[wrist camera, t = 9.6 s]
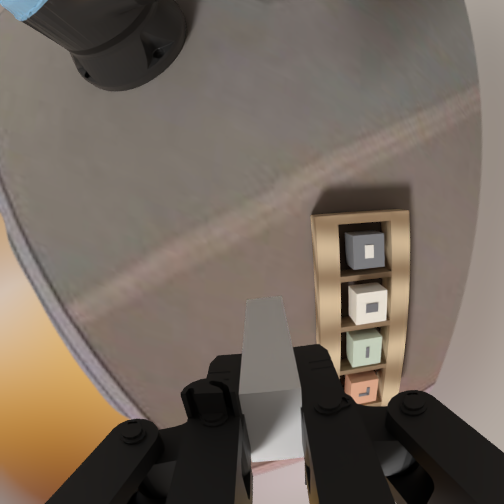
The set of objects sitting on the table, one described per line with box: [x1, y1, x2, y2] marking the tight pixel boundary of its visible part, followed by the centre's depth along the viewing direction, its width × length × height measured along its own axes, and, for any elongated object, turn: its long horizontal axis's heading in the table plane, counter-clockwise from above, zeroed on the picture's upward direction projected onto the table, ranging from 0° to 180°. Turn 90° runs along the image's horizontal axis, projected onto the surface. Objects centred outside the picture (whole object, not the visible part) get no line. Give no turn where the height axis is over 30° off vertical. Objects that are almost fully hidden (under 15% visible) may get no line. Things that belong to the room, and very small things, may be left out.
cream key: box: [348, 282, 387, 325], centre depth 33 cm, size 4×4×3 cm
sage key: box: [346, 327, 382, 367], centre depth 35 cm, size 4×4×3 cm
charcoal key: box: [345, 230, 385, 270], centre depth 33 cm, size 4×4×3 cm
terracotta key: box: [344, 370, 379, 404], centre depth 36 cm, size 4×4×3 cm
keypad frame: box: [311, 209, 410, 406], centre depth 36 cm, size 26×11×3 cm, turn 5°
